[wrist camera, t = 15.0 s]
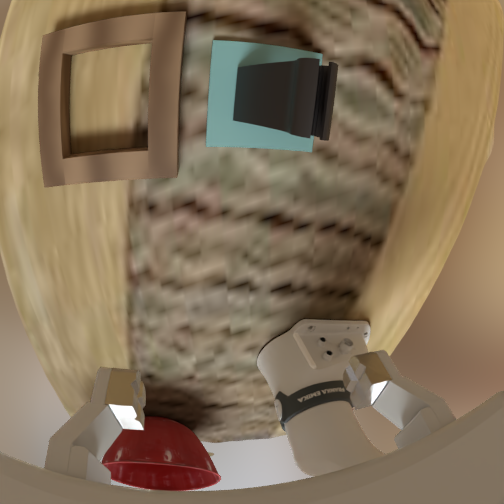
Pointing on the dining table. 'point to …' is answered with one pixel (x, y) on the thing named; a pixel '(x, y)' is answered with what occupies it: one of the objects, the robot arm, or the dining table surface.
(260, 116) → the dark gray a-frame stand
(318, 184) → the dining table surface
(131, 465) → the mixing bowl
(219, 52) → the teal mat
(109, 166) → the walnut holder
